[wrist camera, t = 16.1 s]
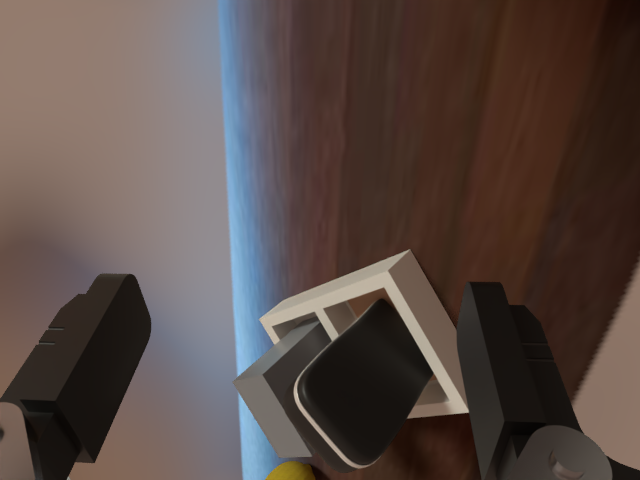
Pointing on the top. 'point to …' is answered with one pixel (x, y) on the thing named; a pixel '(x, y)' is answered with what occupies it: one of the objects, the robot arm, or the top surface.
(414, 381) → the battery charger
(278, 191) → the top surface
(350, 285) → the dock
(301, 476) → the lemon
